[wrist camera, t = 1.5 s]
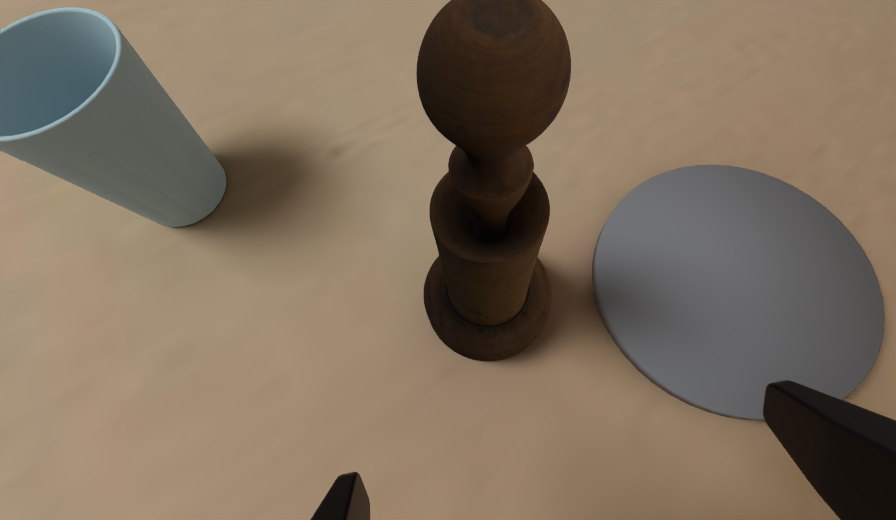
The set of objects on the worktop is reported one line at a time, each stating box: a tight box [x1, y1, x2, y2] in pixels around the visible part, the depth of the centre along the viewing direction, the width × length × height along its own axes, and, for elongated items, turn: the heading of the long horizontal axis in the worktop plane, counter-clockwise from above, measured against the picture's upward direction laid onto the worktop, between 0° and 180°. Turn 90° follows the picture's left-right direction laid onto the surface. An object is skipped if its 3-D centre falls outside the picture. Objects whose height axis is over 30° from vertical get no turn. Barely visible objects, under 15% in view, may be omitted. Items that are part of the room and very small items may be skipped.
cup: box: [0, 7, 226, 227], centre depth 23 cm, size 8×8×10 cm
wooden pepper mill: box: [417, 0, 571, 361], centre depth 16 cm, size 7×6×18 cm
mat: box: [592, 165, 884, 420], centre depth 23 cm, size 14×14×1 cm
